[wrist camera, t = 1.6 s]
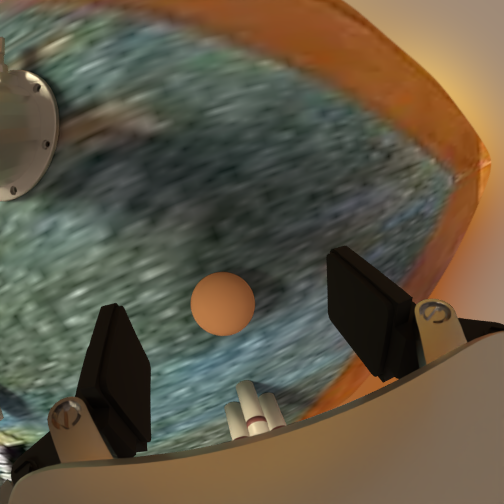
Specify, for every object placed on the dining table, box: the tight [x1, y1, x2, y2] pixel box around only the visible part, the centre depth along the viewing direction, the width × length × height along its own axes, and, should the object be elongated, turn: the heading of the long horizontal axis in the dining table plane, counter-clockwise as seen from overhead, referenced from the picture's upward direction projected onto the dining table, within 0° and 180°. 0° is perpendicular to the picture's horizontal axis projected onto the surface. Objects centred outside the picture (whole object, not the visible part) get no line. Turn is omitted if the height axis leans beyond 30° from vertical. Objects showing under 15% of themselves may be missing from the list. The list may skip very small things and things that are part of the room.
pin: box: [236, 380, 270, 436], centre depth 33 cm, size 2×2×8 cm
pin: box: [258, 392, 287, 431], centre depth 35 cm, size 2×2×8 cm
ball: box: [191, 272, 255, 336], centre depth 28 cm, size 6×6×6 cm
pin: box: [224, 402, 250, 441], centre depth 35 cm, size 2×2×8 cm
